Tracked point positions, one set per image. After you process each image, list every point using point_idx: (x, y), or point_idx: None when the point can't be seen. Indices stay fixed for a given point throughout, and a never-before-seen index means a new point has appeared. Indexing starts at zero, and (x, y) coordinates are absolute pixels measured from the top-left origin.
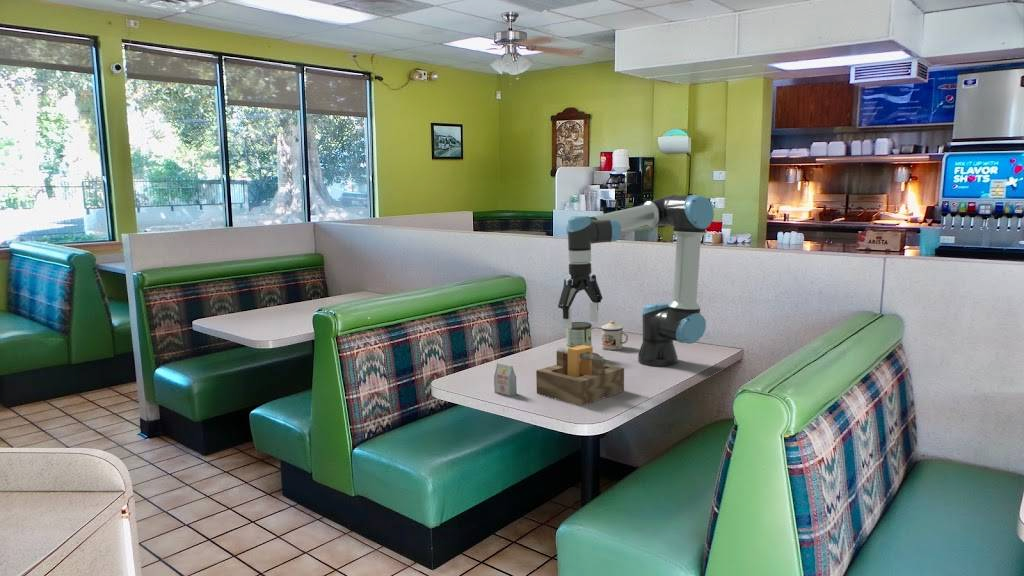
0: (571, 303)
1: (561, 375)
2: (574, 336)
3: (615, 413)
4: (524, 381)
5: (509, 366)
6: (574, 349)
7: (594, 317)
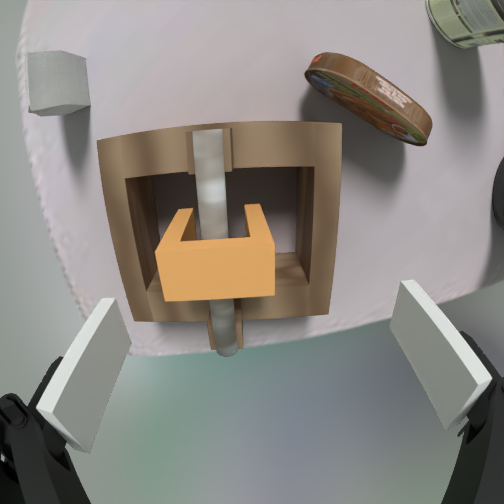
0: (83, 495)
1: (123, 245)
2: (475, 2)
3: (180, 350)
4: (181, 23)
5: (28, 102)
6: (166, 286)
7: (403, 332)
